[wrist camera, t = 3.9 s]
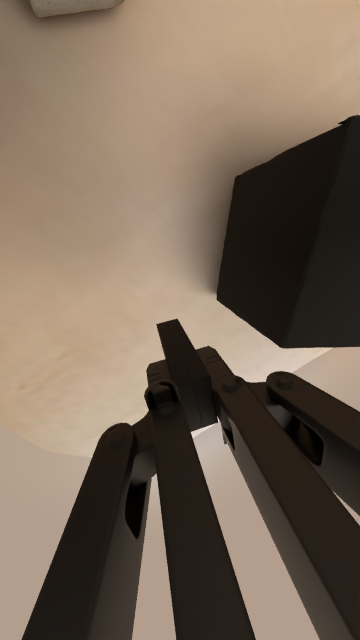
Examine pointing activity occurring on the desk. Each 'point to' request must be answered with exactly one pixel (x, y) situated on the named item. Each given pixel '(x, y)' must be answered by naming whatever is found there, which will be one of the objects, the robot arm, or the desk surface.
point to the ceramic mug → (69, 6)
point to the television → (298, 243)
